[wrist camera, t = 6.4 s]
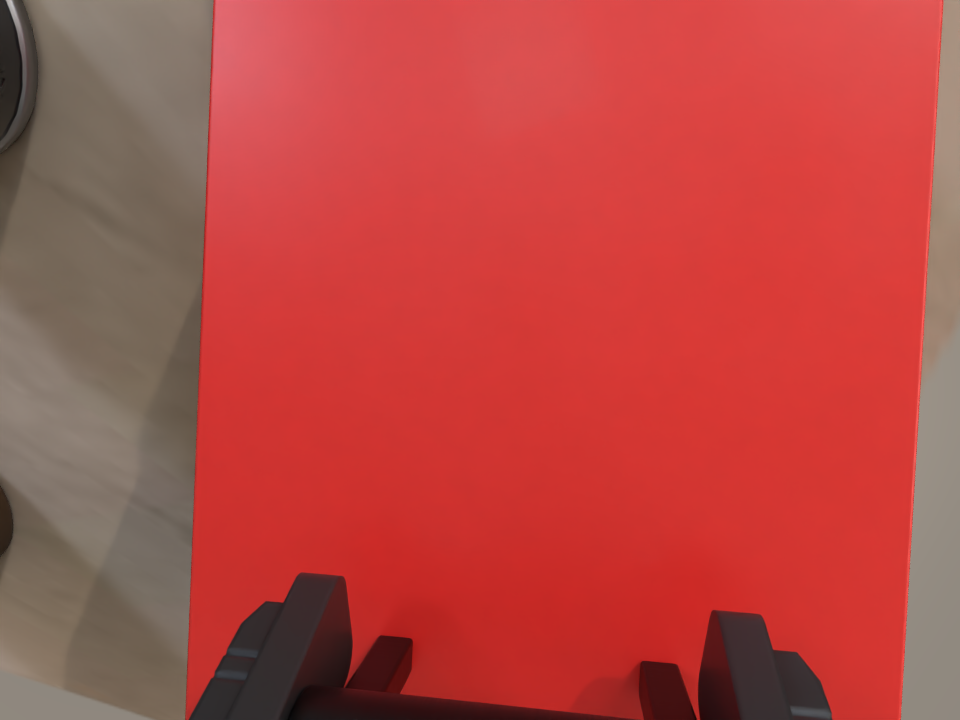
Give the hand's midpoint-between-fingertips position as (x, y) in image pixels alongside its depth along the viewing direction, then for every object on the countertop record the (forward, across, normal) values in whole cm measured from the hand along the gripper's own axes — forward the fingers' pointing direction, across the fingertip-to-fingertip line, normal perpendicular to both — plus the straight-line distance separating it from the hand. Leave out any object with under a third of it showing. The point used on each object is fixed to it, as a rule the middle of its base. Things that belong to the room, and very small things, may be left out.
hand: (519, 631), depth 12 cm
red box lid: (+4, 0, -3) cm, 5 cm away
